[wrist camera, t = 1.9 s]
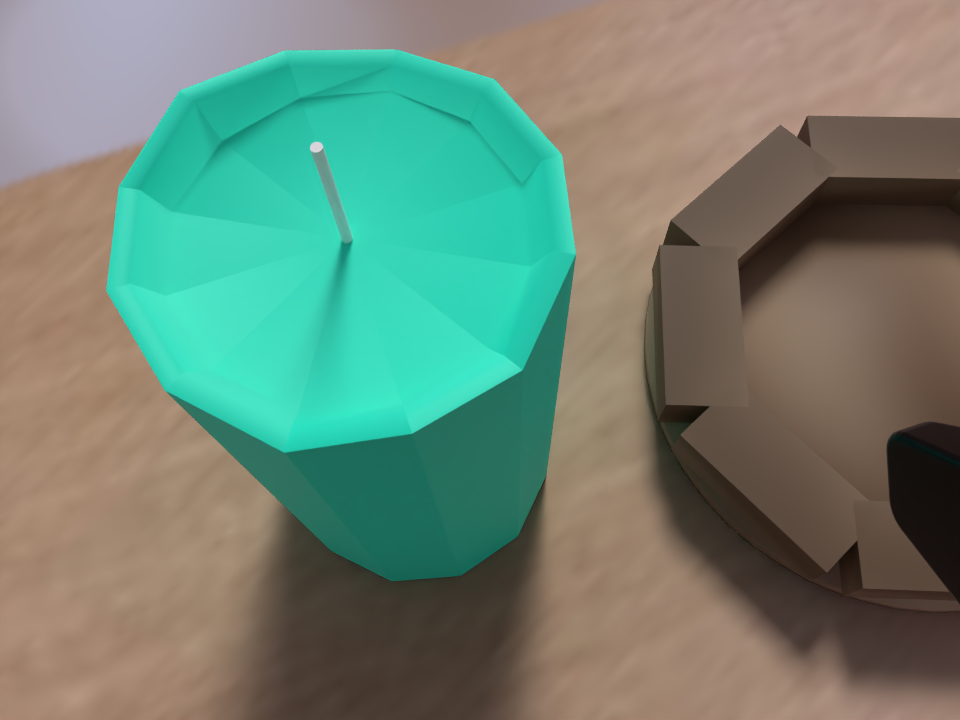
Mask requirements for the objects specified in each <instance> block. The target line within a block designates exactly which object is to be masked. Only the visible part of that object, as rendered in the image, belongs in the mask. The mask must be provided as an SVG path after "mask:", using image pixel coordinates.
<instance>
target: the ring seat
mask: <svg viewBox="0 0 960 720" xmlns="http://www.w3.org/2000/svg"><path fill="white" fill-rule="evenodd" d="M652 276H653V287H652V290H651V293H650V299H649V304H648V309H647V314H646V320H645V341H644V353H645V363H646V373H647V380H648V385H649V389H650V393H651V397H652V401H653V405H654V409H655V412H656V414H657V422H660V425H661V427H662V430H663V432H664V435H665V437H666V440H667V442H668V444H669V445H670V447H671V449H672V450H671V451H672V452H673V453H674V454H675V456H676V458H677V460H678V462H679V464H680V465H681V467H682V469H683V471H684V472H685V473H686V475H687V476H688V477H689V479H690V480H691V482H692V483H693V484H694V486H695V487H696V488H697V490H698V491H699V493H700V494H701V495H702V497H703V498H704V499H705V500H706V501H707V502H708V503H709V505H710V506H711V507H712V508H713V509H714V510H715V511H716V512H717V513H718V514H719V515H720V516H721V517H722V519H723V520H724V521H725V522H726V523H727V524H728V525H729V526H730V527H732V528H733V529H734V530H735V531H736V532H737V533H739V534H740V535H741V536H742V537H743V538H745V539H746V540H747V541H748V542H749V543H750V544H752V545H753V546H754V547H755V548H756V549H758V550H759V551H761V552H762V553H764V554H765V555H767V556H768V557H770V558H771V559H773V560H774V561H776V562H777V563H779V564H780V565H782V566H783V567H785V568H786V569H788V570H790V571H792V572H794V573H796V574H798V575H800V576H802V577H804V578H805V579H806V580H807V581H812V582H814V583H816V584H818V585H820V586H822V587H824V588H827V589H830V590H833V591H835V592H838V593H841V594H842V596H844V597H852V598H854V599H857V600H861V601H866V602H870V603H874V604H878V605H883V606H887V607H891V608H897V609H906V610H916V611H926V612H955V611H960V605H959V604H958V602H957V601H956V600H955V598H954V597H953V596H952V595H951V593H950V592H949V591H948V589H947V588H946V587H945V586H944V584H943V583H942V582H941V580H940V579H939V578H938V577H937V575H936V574H935V573H934V571H933V570H932V569H931V568H930V566H929V565H928V564H927V562H926V561H925V560H924V559H923V557H922V556H921V555H920V553H919V552H918V551H917V549H916V548H915V547H914V546H913V544H912V543H911V542H910V540H909V539H908V538H907V537H906V535H905V534H904V533H903V531H902V530H901V529H900V527H899V526H898V524H897V522H896V521H895V519H894V516H893V514H892V511H891V507H890V501H889V487H888V470H887V454H886V446H887V441H888V438H889V437H890V436H891V435H892V433H894V432H896V431H899V430H902V429H905V428H908V427H911V426H914V425H917V424H920V423H923V422H929V421H932V422H939V423H944V424H949V425H955V426H960V118H924V117H854V116H807V118H806V120H805V122H804V124H803V126H802V128H801V130H800V132H799V134H798V136H797V137H796V136H795V135H793V134H792V133H791V132H789V131H788V130H787V129H785V128H784V127H783V126H781V125H780V126H779V127H777V128H776V129H775V130H774V131H773V132H772V133H770V134H769V135H768V136H767V137H766V138H765V139H764V140H762V141H761V142H760V143H759V144H758V145H757V146H756V147H754V148H753V149H752V150H751V151H750V152H749V153H747V154H746V155H745V156H744V157H743V158H742V159H741V160H739V161H738V162H737V163H736V164H735V165H734V166H733V167H731V168H730V169H729V170H728V171H727V172H726V173H724V174H723V175H722V176H721V177H720V178H719V179H718V180H716V181H715V182H714V183H713V184H712V185H711V186H710V187H708V188H707V189H706V190H705V191H704V192H703V193H702V194H700V195H699V196H698V197H697V198H696V199H695V200H693V201H692V202H691V203H690V204H689V205H688V206H687V207H685V208H684V209H683V210H682V211H681V212H680V213H679V214H677V215H676V216H675V217H674V218H673V219H672V220H671V221H670V224H669V227H668V231H667V234H666V237H665V240H664V243H663V245H660V246H659V249H658V252H657V256H656V259H655V262H654V265H653V269H652Z"/></svg>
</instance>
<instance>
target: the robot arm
mask: <svg viewBox="0 0 960 720" xmlns="http://www.w3.org/2000/svg"><path fill="white" fill-rule="evenodd" d="M886 454H887V470H888V487H889V501H890V507H891V511H892V514H893V516H894V519H895V521H896V522H897V524H898V526H899V527H900V529H901V530H902V531H903V533H904V534H905V535H906V537H907V538H908V539H909V540H910V542H911V543H912V544H913V546H914V547H915V548H916V549H917V551H918V552H919V553H920V555H921V556H922V557H923V559H924V560H925V561H926V562H927V564H928V565H929V566H930V568H931V569H932V570H933V571H934V573H935V574H936V575H937V577H938V578H939V579H940V580H941V582H942V583H943V584H944V586H945V587H946V588H947V589H948V591H949V592H950V593H951V595H952V596H953V597H954V598H955V600H956V601H957V602H958V604H959V605H960V426H955V425H949V424H944V423H939V422H932V421H929V422H923V423H920V424H917V425H914V426H911V427H908V428H905V429H902V430H899V431H896V432H894V433H892V435H891V436H890V437H889V438H888V441H887V446H886Z"/></svg>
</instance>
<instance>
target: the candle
mask: <svg viewBox="0 0 960 720" xmlns="http://www.w3.org/2000/svg"><path fill="white" fill-rule="evenodd" d="M575 258H576V251H575V244H574V237H573V230H572V223H571V216H570V209H569V202H568V194H567V187H566V180H565V173H564V166H563V159H562V154H561V153H560V152H559V151H558V150H557V149H556V147H555V146H554V145H553V144H552V143H551V142H550V141H549V140H548V138H547V137H546V136H545V135H544V134H543V133H542V132H541V131H540V129H539V128H538V127H537V126H536V125H535V124H534V123H533V122H532V120H531V119H530V118H529V117H528V116H527V115H526V114H525V113H524V112H523V110H522V109H521V108H520V107H519V106H518V105H517V104H516V103H515V101H514V100H513V99H512V98H511V97H510V96H509V95H508V94H507V92H506V91H505V90H504V89H503V88H502V87H501V86H500V85H499V83H498V82H497V81H496V80H495V79H492V78H489V77H486V76H482V75H479V74H476V73H472V72H469V71H466V70H462V69H459V68H456V67H452V66H449V65H446V64H443V63H439V62H436V61H433V60H429V59H426V58H423V57H419V56H416V55H413V54H409V53H406V52H403V51H399V50H299V51H298V50H295V51H294V50H293V51H282V52H280V53H277V54H275V55H272V56H269V57H267V58H264V59H261V60H259V61H256V62H253V63H251V64H248V65H245V66H243V67H240V68H238V69H235V70H232V71H230V72H227V73H225V74H222V75H219V76H217V77H214V78H211V79H209V80H206V81H204V82H201V83H199V84H196V85H193V86H191V87H188V88H185V89H183V90H180V91H179V93H178V94H177V96H176V97H175V99H174V101H173V102H172V103H171V105H170V107H169V108H168V110H167V111H166V113H165V115H164V116H163V118H162V119H161V121H160V122H159V124H158V126H157V127H156V129H155V130H154V132H153V134H152V135H151V137H150V138H149V140H148V141H147V143H146V145H145V146H144V148H143V149H142V151H141V153H140V154H139V156H138V157H137V159H136V160H135V162H134V164H133V165H132V167H131V168H130V170H129V172H128V173H127V175H126V176H125V178H124V179H123V181H122V183H121V184H120V186H119V190H118V198H117V207H116V215H115V223H114V232H113V240H112V248H111V257H110V265H109V273H108V282H107V290H106V291H107V293H108V294H109V296H110V298H111V300H112V301H113V303H114V305H115V306H116V308H117V310H118V311H119V313H120V315H121V317H122V318H123V320H124V322H125V323H126V325H127V327H128V329H129V330H130V332H131V334H132V335H133V337H134V339H135V340H136V342H137V344H138V346H139V347H140V349H141V351H142V352H143V354H144V356H145V358H146V359H147V361H148V363H149V364H150V366H151V368H152V369H153V371H154V373H155V375H156V376H157V378H158V380H159V381H160V383H161V385H162V387H163V388H164V390H165V391H166V392H167V393H168V394H169V395H170V396H171V397H172V398H173V399H174V400H175V401H176V402H177V403H178V404H179V405H180V406H182V407H183V408H184V409H185V410H186V411H187V412H188V413H189V414H190V415H191V416H192V417H193V418H194V419H195V420H196V421H197V422H198V423H199V424H200V425H201V426H202V427H203V428H204V429H205V430H206V431H207V432H208V433H209V434H210V435H212V436H213V437H214V438H215V439H216V440H217V441H218V442H219V443H220V444H221V445H222V446H223V447H224V448H225V449H226V450H227V451H228V452H229V453H230V454H231V455H232V456H233V457H234V458H235V459H236V460H237V461H238V462H239V463H241V464H242V465H243V466H244V467H245V468H246V469H247V470H248V471H249V472H250V473H251V474H252V475H253V476H254V477H255V478H256V479H257V480H258V481H259V482H260V483H261V484H262V485H263V486H264V487H265V488H266V489H267V490H268V491H269V492H271V493H272V494H273V495H274V496H275V497H276V498H277V499H278V500H279V501H280V502H281V503H282V504H283V505H284V506H285V507H286V508H287V509H288V510H289V511H290V512H291V513H292V514H293V515H294V516H295V517H296V518H297V519H298V520H300V521H301V522H302V523H303V524H304V525H305V526H306V527H307V528H308V529H309V530H310V531H311V532H312V533H313V534H314V535H315V536H316V537H317V538H318V539H319V540H320V541H321V542H322V543H323V544H324V545H325V546H326V547H327V548H328V549H330V550H331V551H332V552H334V553H336V554H338V555H340V556H342V557H344V558H346V559H348V560H350V561H352V562H354V563H356V564H358V565H360V566H362V567H364V568H366V569H368V570H370V571H372V572H374V573H376V574H378V575H380V576H382V577H384V578H386V579H388V580H390V581H403V580H416V579H428V578H441V577H453V576H462V575H463V574H464V573H466V572H467V571H469V570H470V569H472V568H473V567H475V566H476V565H477V564H479V563H480V562H482V561H483V560H485V559H486V558H488V557H489V556H490V555H492V554H493V553H495V552H496V551H498V550H499V549H501V548H502V547H503V546H505V545H506V544H508V543H509V542H511V541H512V540H514V539H515V538H516V537H518V535H519V533H520V531H521V529H522V527H523V524H524V522H525V520H526V518H527V516H528V514H529V512H530V509H531V507H532V505H533V503H534V501H535V499H536V497H537V494H538V492H539V490H540V488H541V486H542V484H543V482H544V479H545V477H546V473H547V466H548V458H549V451H550V443H551V436H552V428H553V421H554V414H555V406H556V399H557V391H558V384H559V376H560V369H561V362H562V354H563V347H564V339H565V332H566V324H567V317H568V310H569V302H570V295H571V287H572V280H573V273H574V265H575Z"/></svg>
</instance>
